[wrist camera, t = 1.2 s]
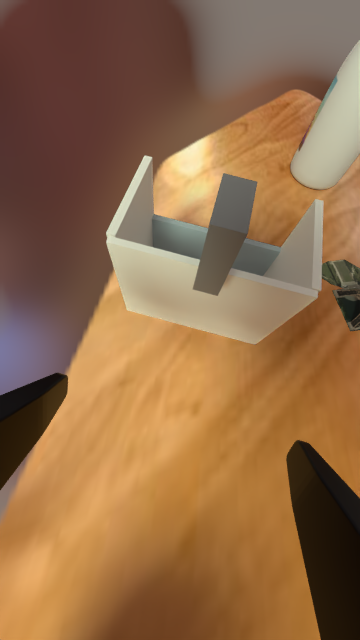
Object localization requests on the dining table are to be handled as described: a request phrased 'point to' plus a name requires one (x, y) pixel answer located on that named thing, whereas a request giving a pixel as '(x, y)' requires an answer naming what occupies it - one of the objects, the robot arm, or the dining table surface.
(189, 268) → the carton flap
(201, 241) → the carton
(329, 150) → the milk bottle
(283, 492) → the dining table surface
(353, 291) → the eiffel tower figurine
